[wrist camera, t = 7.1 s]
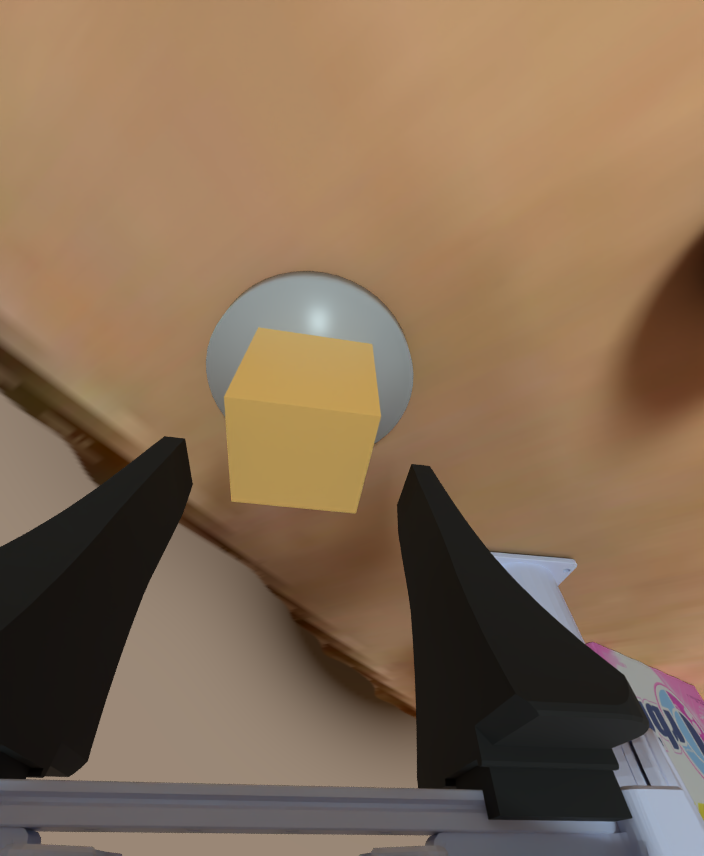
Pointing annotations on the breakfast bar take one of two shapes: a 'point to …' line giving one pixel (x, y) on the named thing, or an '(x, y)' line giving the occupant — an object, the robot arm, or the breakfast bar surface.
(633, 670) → the gum box
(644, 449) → the breakfast bar surface
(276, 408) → the mustard yellow cube
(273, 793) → the robot arm
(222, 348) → the grey disc
